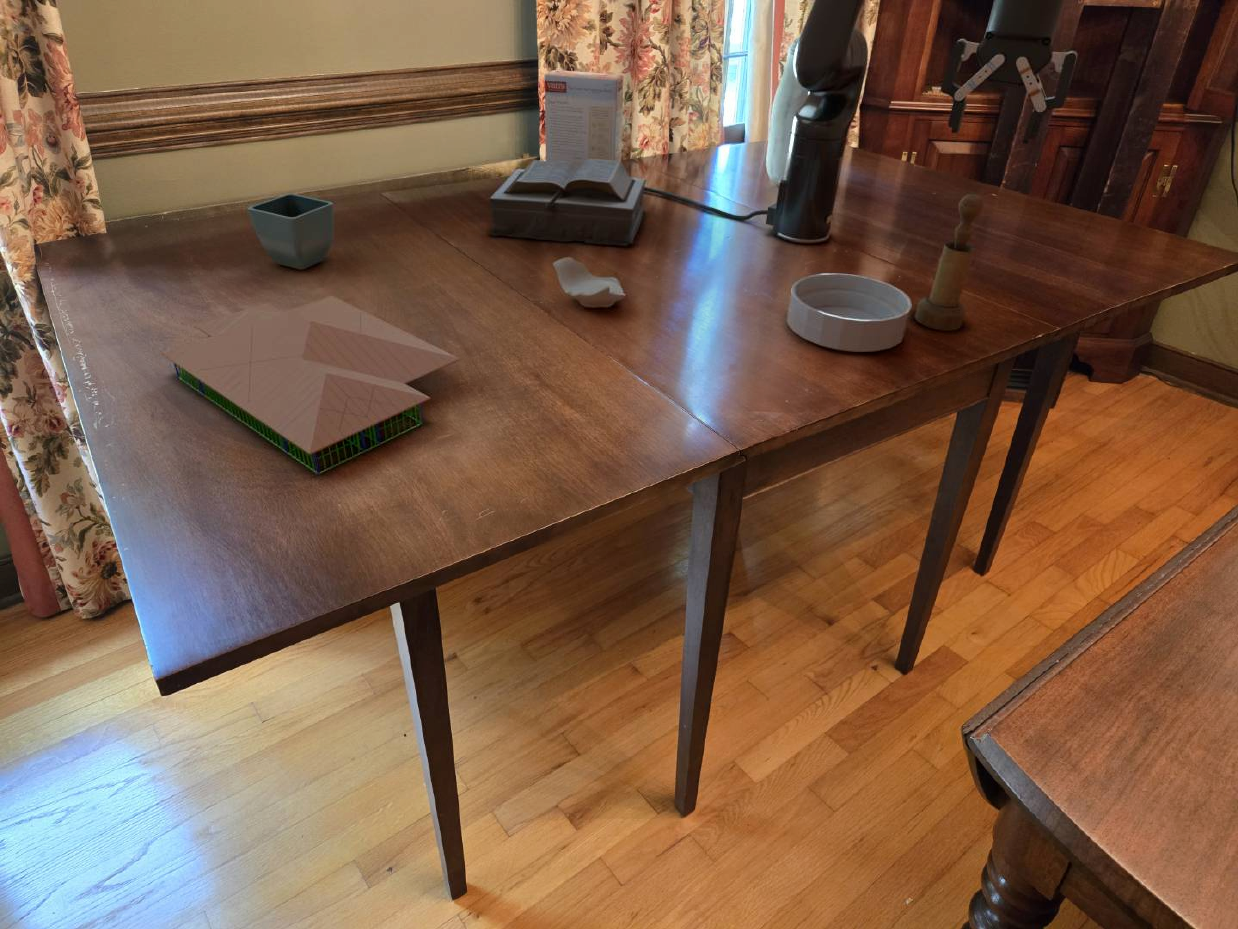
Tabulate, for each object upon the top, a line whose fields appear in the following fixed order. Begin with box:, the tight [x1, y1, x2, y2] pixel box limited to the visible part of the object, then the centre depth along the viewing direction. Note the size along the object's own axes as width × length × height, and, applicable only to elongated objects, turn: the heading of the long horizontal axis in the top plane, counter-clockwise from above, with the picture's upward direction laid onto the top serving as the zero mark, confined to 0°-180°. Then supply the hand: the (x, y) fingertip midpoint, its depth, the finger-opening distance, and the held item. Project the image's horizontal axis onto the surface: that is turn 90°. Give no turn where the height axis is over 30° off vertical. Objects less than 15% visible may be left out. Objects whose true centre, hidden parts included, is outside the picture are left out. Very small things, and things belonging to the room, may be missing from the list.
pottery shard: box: [552, 256, 627, 309], centre depth 118 cm, size 10×11×5 cm
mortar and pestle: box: [914, 193, 984, 332], centre depth 113 cm, size 7×6×18 cm
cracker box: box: [544, 69, 624, 166], centre depth 159 cm, size 14×6×21 cm, turn 77°
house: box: [160, 295, 461, 475], centre depth 95 cm, size 23×33×8 cm
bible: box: [489, 159, 647, 247], centre depth 144 cm, size 23×27×10 cm
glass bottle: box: [765, 36, 808, 186], centre depth 163 cm, size 10×10×28 cm
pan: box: [786, 272, 913, 353], centre depth 114 cm, size 16×16×5 cm
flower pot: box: [247, 193, 334, 271], centre depth 125 cm, size 9×9×9 cm
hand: (989, 137), depth 104 cm, fingers open, 8 cm apart
